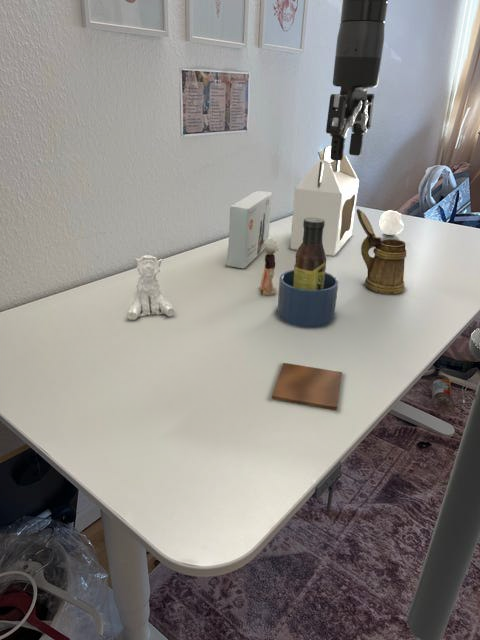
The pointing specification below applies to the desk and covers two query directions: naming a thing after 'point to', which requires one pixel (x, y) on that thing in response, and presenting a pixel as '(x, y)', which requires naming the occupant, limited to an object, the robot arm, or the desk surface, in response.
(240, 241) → the skincare box
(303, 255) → the sauce bottle
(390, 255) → the wooden mug
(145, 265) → the sitting furry creature
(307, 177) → the gable box
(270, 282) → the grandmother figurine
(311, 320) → the blue cup
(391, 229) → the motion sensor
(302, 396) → the wooden coaster
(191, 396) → the desk surface
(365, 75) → the robot arm
